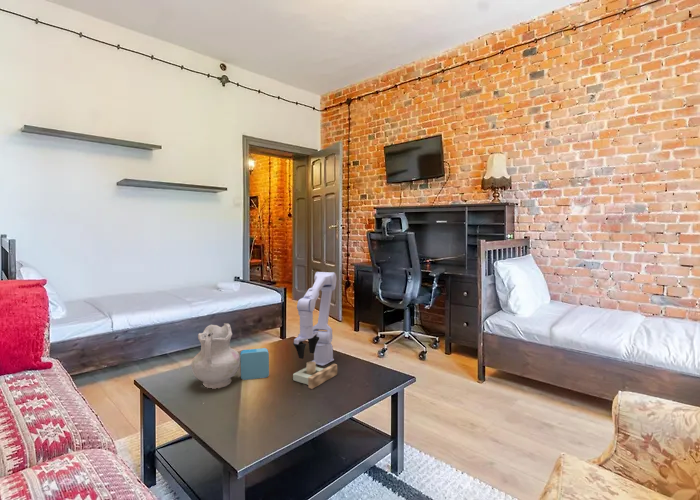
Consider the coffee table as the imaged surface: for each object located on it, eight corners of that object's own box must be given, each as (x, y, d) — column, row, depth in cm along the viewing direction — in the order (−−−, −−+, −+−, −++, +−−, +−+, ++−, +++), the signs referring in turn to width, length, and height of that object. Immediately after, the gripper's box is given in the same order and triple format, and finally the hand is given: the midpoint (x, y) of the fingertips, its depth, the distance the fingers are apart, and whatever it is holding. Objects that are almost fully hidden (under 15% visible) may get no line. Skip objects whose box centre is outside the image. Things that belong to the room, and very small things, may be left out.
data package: (268, 373, 172) (268, 347, 171) (269, 377, 168) (268, 350, 167) (240, 376, 169) (240, 350, 168) (240, 380, 165) (240, 353, 164)
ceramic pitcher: (239, 394, 154) (243, 333, 153) (187, 398, 148) (190, 334, 146) (238, 374, 174) (241, 320, 173) (192, 376, 168) (195, 320, 167)
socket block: (310, 371, 174) (310, 365, 174) (328, 375, 169) (328, 369, 169) (293, 380, 164) (293, 373, 164) (311, 385, 159) (311, 379, 159)
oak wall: (333, 373, 172) (333, 363, 172) (337, 374, 171) (337, 364, 171) (308, 387, 157) (308, 377, 157) (312, 389, 156) (312, 378, 156)
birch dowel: (313, 376, 169) (312, 360, 169) (317, 379, 166) (317, 363, 166) (305, 378, 167) (304, 362, 167) (309, 381, 164) (309, 365, 163)
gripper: (309, 320, 176) (309, 349, 177) (288, 328, 164) (288, 358, 165) (321, 322, 172) (322, 351, 173) (301, 330, 160) (301, 362, 161)
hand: (306, 355), depth 169 cm, fingers open, 7 cm apart
